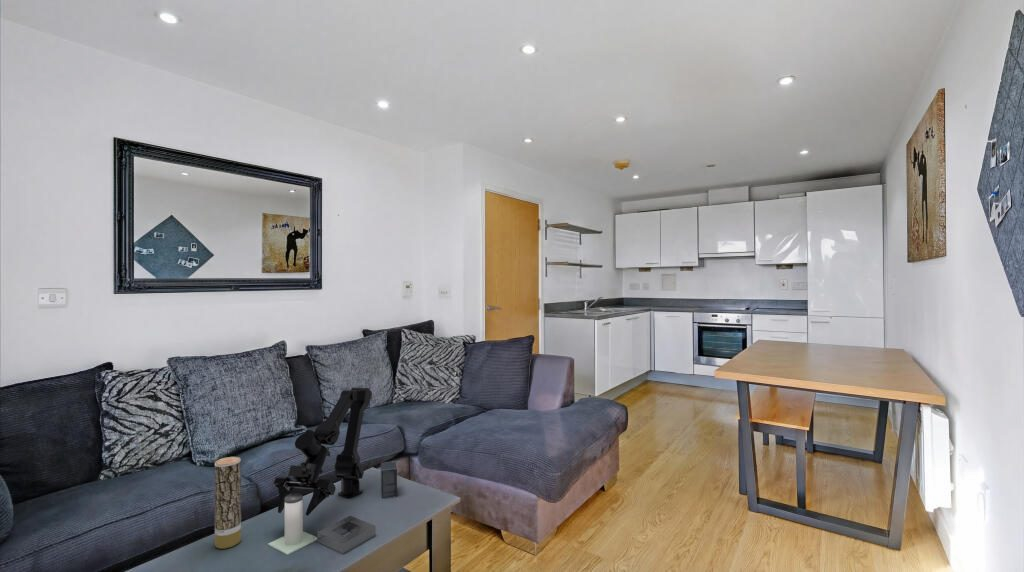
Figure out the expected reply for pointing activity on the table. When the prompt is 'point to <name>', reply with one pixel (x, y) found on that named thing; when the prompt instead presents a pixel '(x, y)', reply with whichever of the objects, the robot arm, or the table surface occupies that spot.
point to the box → (388, 479)
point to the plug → (293, 518)
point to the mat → (289, 549)
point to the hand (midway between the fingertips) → (292, 514)
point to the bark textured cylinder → (227, 502)
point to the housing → (342, 544)
